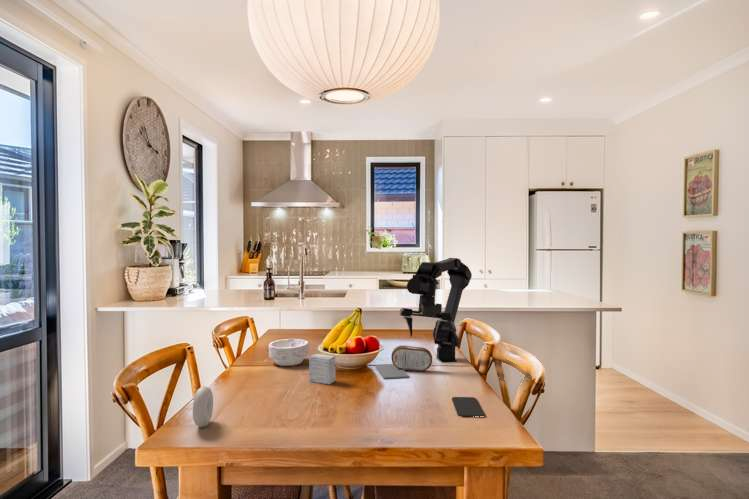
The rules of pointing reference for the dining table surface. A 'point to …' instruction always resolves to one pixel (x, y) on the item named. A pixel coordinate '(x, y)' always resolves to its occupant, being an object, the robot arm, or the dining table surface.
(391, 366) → the tin mat
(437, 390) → the dining table surface
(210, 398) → the grey marbled disc
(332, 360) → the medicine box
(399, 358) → the tin
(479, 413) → the phone
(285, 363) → the marble bowl
